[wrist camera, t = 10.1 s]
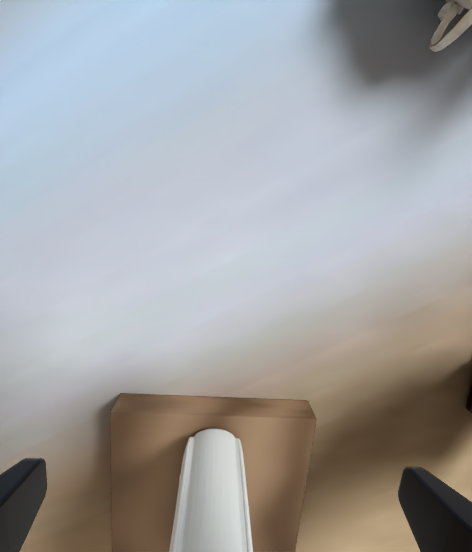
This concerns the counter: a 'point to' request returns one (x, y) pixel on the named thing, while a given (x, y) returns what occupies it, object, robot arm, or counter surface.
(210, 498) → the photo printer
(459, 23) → the chinaware
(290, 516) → the walnut stand
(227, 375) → the counter surface
